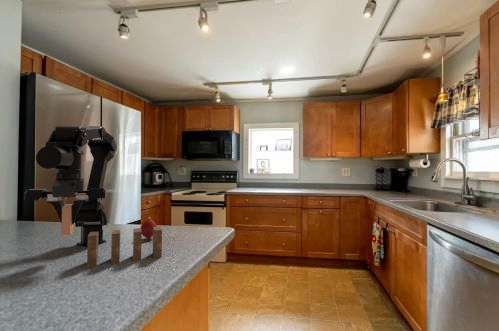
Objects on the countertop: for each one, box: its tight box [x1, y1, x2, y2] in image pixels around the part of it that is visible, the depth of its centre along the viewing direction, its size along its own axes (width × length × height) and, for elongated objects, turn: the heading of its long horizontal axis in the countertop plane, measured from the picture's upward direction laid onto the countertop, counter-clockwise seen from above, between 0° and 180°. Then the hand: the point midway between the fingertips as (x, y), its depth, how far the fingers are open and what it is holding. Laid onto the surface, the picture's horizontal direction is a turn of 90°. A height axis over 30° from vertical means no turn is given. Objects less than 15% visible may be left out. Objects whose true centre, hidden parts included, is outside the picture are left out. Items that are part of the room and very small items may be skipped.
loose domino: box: [60, 203, 75, 237], centre depth 73 cm, size 2×5×8 cm, turn 25°
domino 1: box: [86, 232, 99, 268], centre depth 70 cm, size 2×5×8 cm, turn 26°
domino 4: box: [152, 226, 163, 259], centre depth 77 cm, size 2×5×8 cm, turn 26°
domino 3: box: [132, 227, 143, 262], centre depth 74 cm, size 2×5×8 cm, turn 26°
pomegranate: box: [140, 216, 158, 240], centre depth 95 cm, size 6×6×8 cm
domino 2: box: [110, 229, 121, 265], centre depth 72 cm, size 2×5×8 cm, turn 26°
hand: (67, 224), depth 73 cm, fingers closed on loose domino, 2 cm apart
